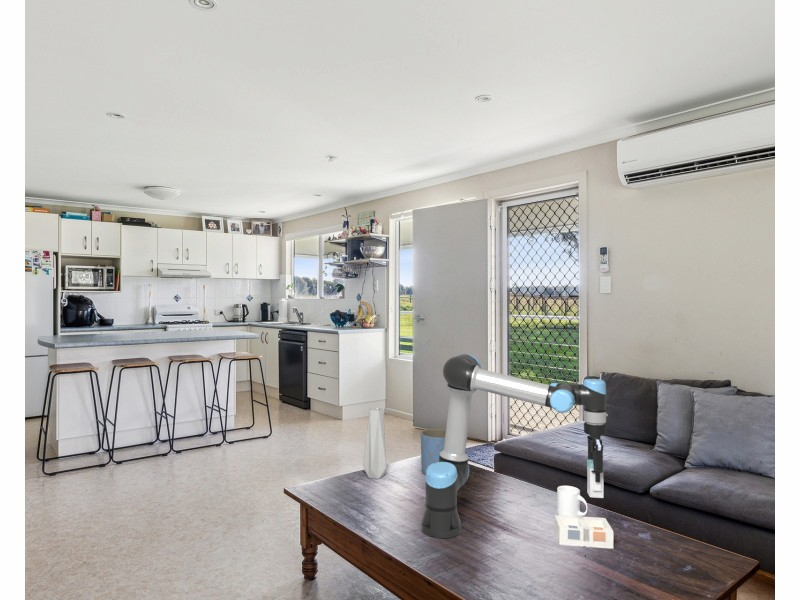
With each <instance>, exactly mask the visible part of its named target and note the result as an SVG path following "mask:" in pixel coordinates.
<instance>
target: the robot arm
mask: <svg viewBox="0 0 800 600" xmlns="http://www.w3.org/2000/svg"><path fill="white" fill-rule="evenodd" d="M442 376H443V378H444V381H445V382H446V383H447V388H448V390H449V391H450V393H449V394H450V395H449V401H448V411H447V418H446V419H447V421H446V426H445V427H446V428H445V429H446V435H445V444H444V450H442V451H441V452H440V454H439V462H436V463H433V464H431V465H430V466H428V468H427V470H426V476H425V477H424V478H425V508H424V512H423V515H422V519H421V521H420V530H421V532H422V533H423V534H425V535H426V536H429V537H432V538H434V539H435V538H436V539H450V538H454V537H456V536H459V535H460V534H461V532H462V522H461V518H460V515H459V513H458V512H459V511H458V508H457V507H458V501H457V500H458V492H459V490H460V489H461V487H463V485H465V483H466V482H467V480H468V478H469V475H470V465H469V455H467V453H466V448H467V441H468V433H469V423H470V416H471V415H470V414H471V406H472V397H473V394H474V393H475V392H476V391H477V390H478V391H479V390H480V391H483V392H487V393H490V394H494V395H499V396H502V397H506V398H510V399H514V400H518V401H523V402H527V403H530V404H534V405H538V406H542V407H545V408H546V407H547V408H550V409H553V410H554V411H555V412H557V413H561V414H564V413H569V412H570V411H571V410H572V409H573V408H574V406H583V421H584V423H583V432H584V434H586V435H587V437H586V438H587V459H588V460H593V469H594V470H593V471H591V472H592V473H593V491H601V473H603V474H604V469H603V464H604V445H603V440H602V439H601V436H605V435H607V424H606V423H607V417H608V416H609V415H608V413H607V385H606V384H607V383H606V382H605V380H603V379H599V378H585V379H584V380H583V383H581V384H580V383H579V384H576V383H565V382H564V383H563V382H551V383H550V384H546V383H541V382H538V381H533V380H529V379H524V378H519V377H517V376H513V375H508V374H503V373H500V372H496V371H491V370H486V369H484V368H483V369H482V365H481V362H480V361H479V359H478V358H477V357H476V356H475V355H472V354H469V353H461V354H458V355H457V356H453V357H450V358H449V359H447V361H446V362H445V363H444V365H443V369H442Z"/></svg>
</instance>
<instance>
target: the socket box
mask: <svg viewBox="0 0 800 600" xmlns="http://www.w3.org/2000/svg"><path fill="white" fill-rule="evenodd" d="M554 533H555V535H556V536H555V537H556V539H557V543H558V544H559V545H561V546H572V547H573V546H574V547H583V546H586V547H585V548H587V547H588V548H597V549H599V548H600V549H612V550H613V549H614V529H613V528H612V527H611V525H610V523H609V522H608V520H607V519H606V517H597V516H596V517H595V516H566V515H558V514H554Z"/></svg>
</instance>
